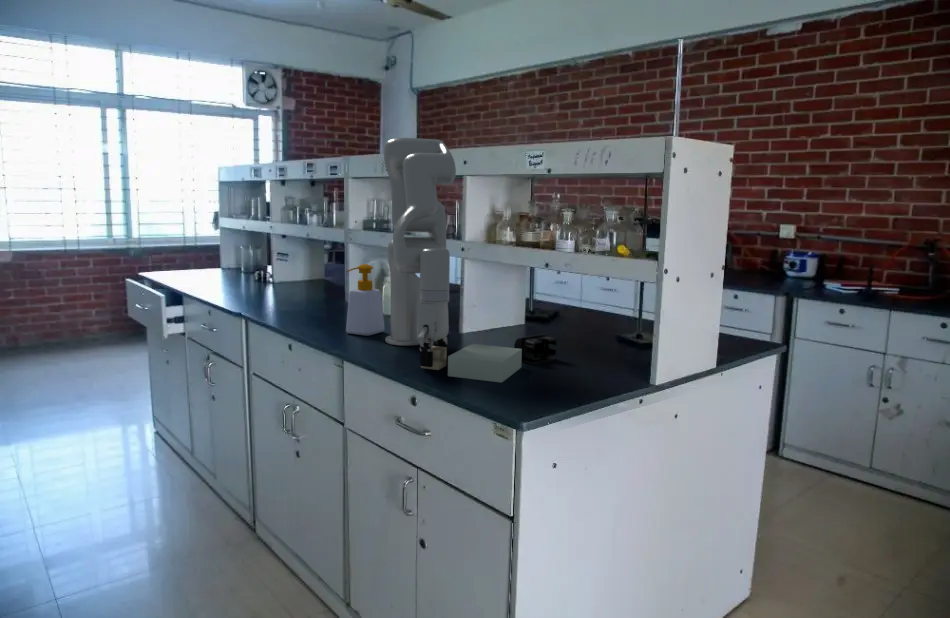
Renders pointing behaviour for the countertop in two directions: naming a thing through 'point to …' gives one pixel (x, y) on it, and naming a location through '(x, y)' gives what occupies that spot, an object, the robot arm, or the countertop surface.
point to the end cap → (536, 348)
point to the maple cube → (438, 358)
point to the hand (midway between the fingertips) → (433, 362)
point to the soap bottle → (364, 307)
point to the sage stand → (485, 362)
